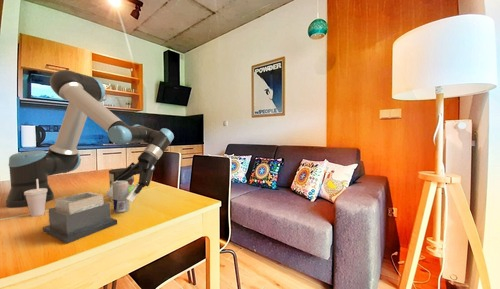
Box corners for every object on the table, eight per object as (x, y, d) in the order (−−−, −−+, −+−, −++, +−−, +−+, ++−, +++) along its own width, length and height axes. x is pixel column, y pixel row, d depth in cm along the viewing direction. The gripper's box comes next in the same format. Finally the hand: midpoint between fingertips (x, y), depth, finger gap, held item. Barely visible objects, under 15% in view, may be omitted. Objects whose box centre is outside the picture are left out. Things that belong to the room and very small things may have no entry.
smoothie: (53, 212, 82) (50, 178, 81) (31, 219, 76) (28, 181, 75) (43, 210, 84) (40, 177, 83) (21, 216, 78) (18, 180, 77)
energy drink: (118, 208, 85) (117, 180, 85) (131, 208, 86) (130, 180, 85) (110, 213, 80) (109, 183, 79) (125, 213, 80) (123, 183, 80)
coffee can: (139, 195, 103) (138, 167, 102) (123, 202, 93) (121, 171, 92) (122, 194, 105) (121, 167, 104) (104, 201, 95) (103, 171, 94)
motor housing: (43, 231, 66) (40, 199, 65) (92, 215, 78) (91, 188, 77) (66, 243, 58) (64, 207, 58) (117, 224, 71) (115, 194, 70)
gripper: (174, 162, 91) (145, 207, 78) (138, 159, 102) (107, 198, 90) (164, 152, 86) (131, 197, 73) (127, 150, 97) (93, 189, 84)
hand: (118, 198), depth 81 cm, fingers open, 13 cm apart
